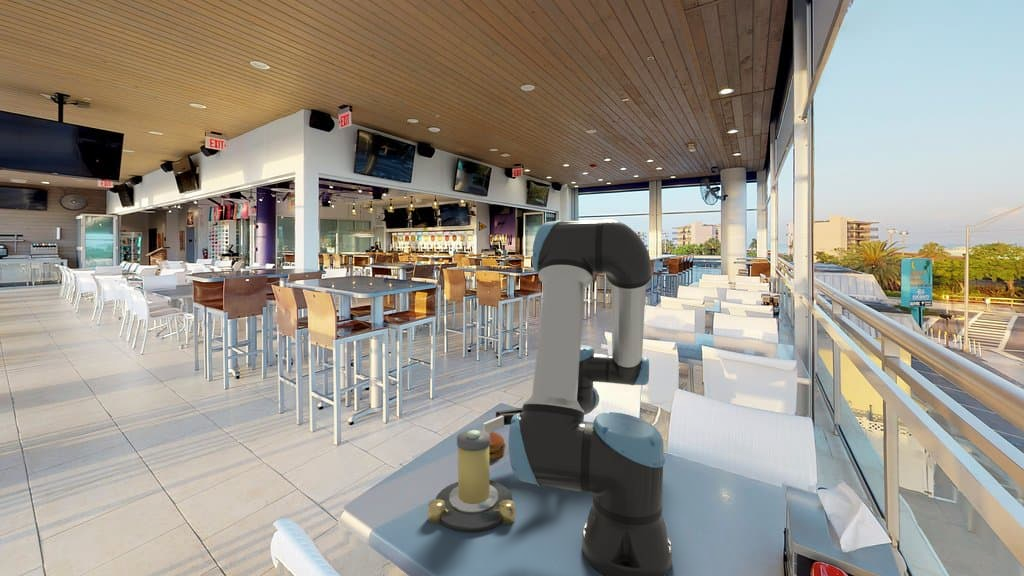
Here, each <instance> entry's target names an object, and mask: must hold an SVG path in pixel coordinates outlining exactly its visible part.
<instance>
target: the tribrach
mask: <svg viewBox="0 0 1024 576" xmlns="http://www.w3.org/2000/svg"><path fill="white" fill-rule="evenodd" d="M489 491H490V495H489V497H488V499H487V500H485V501H484V502H481V503H477V504H468V503H464V502H462V501H461V500H460V499H459V496H458V481H456V482H454V483H451V484H450V485H447V486H446V487H444V488H442V489H441V490H440V492H438V494H437V495H436V497H435V499H433V500H430V501H429V502H428V507H427V509H428V521H429V523H431V524H442V526H444V527H446V528H448V529H450V528H451V529H450V530H453V529H454V530H453V531H456V530H457V532H461V531H464V532H463V533H478V532H484V531H488V530H491V529H494V528H495V527H499V526H500V525H501V524H502V525H511V524H513V523H514V522H515V521H516V503H515V501H513V495H512V493H511V492H510V490H509V489H508V488H507V487H506V486H504V485H503V484H501V483H500V482H497V481H495V480H490V479H489Z"/></svg>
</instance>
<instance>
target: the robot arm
mask: <svg viewBox="0 0 1024 576" xmlns="http://www.w3.org/2000/svg"><path fill="white" fill-rule="evenodd" d="M531 258H532V260H531V262H532V268H533V270H534V272H535V273H538V275H537V276H538V279H539V281H540V282H541V283H542V284H543V293H542V303H541V309H540V310H541V311H540V312H541V313H540V321H539V328H538V338H537V346H536V347H537V348H536V356H535V357H536V358H535V365H534V366H535V367H534V373H533V375H534V376H533V381H532V383H533V385H532V393H531V396H530V397H529V398H528V399H527V400H526V401H524V402H523V403H522V407H518V408H517V407H516V408H512V409H505V410H498V411H495V418H492V419H490V420H488V421H486V422H482V431H486V432H488V433H489V434H490V433H492V432H494V433H495V432H496V431H498V430H500V429H502V428H504V427H505V426H508V425H509V431H508V453H509V454H508V457H509V462H510V467H511V470H512V473H513V475H514V476H515V477H516V479H517V480H518V481H520V482H523V483H529V484H532V485H536V486H537V487H543V486H544V487H549V488H557V489H562V490H570V491H576V492H581V493H588V494H592V506H591V508H590V511H589V513H588V517H587V520H586V523H584V527H583V530H582V534H581V535H582V538H581V539H582V540H581V542H582V543H581V544H582V545H581V547H582V548H581V549H582V552H583V555H584V557H585V558H586V560H587V561H588V563H589V564H590V565H591V566H592V567H593V568H594V569H595V570H597V571H598V572H599V573H601V574H602V575H605V576H664V575H665V574H666V573H667V572H668V571H669V572H670V570H671V568H672V562H673V549H672V543H671V540H670V538H669V536H668V532H667V527H666V524H665V520H664V517H663V499H664V498H663V494H664V493H663V492H664V491H663V489H664V488H663V486H664V485H663V484H664V466H665V464H666V458H665V451H664V438H663V436H662V434H661V432H660V431H659V429H657V428H656V427H655V426H654V425H652V424H651V423H649V422H648V421H646V420H643V419H642V418H640V417H637V416H634V415H630V414H626V413H622V412H615V411H612V412H611V411H610V412H602V413H599V414H597V415H596V416H595V418H594V420H593V421H585V419H584V418H585V416H586V415H588V414H589V413H591V412H592V411H593V410H595V409H596V408H597V407H598V406H599V404H600V403H599V402H600V396H599V393H598V390H597V389H596V388H595V387H594V382H596V383H604V384H605V383H606V384H607V383H609V384H618V385H626V386H627V385H629V386H646V385H648V384H649V381H650V359H649V358H648V357H646V356H643V351H644V350H643V347H644V346H643V345H644V332H645V331H644V327H645V326H644V325H645V312H646V311H645V310H646V309H645V308H646V291H647V285H648V284H649V283H650V282H651V280H652V260H651V257H650V253H649V251H648V249H647V246H646V244H645V243H644V241H643V240H642V239H641V237H640V236H639V235H638V234H637V233H636V232H635V231H634V230H633V229H632V228H631V227H630V226H628V225H627V224H625V223H623V222H620V221H617V220H615V219H603V220H602V219H600V220H598V219H596V220H593V219H592V220H568V221H567V220H564V219H563V220H562V219H559V220H556V221H546V222H544V223H543V224H541V225H540V226H539V227H538V229H537V231H536V233H535V236H534V241H533V245H532V256H531ZM595 274H596V275H598V274H599V275H603V274H606V280H607V282H608V284H610V285H611V348H612V349H611V350H612V351H611V352H612V353H611V354H603V353H602V354H599V353H595V350H594V347H592V346H590V345H585V344H581V342H582V330H583V316H584V304H585V303H584V302H585V301H584V300H585V288H587V287H588V286H589V285H591V284H592V282H593V276H594V275H595ZM669 572H668V573H669ZM668 573H667V574H668ZM665 576H666V575H665Z"/></svg>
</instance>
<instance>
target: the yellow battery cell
mask: <svg viewBox="0 0 1024 576" xmlns="http://www.w3.org/2000/svg"><path fill="white" fill-rule="evenodd" d="M489 445H490V434H489V433H488V432H486V431H483V429H482V430H481V429H469V430H464V431H462V432H460V433H458V434H457V436H456V446H457V461H458V462H457V471H458V472H457V473H458V474H457V477H458V478H457V480H458V481H457V482H458V496H459V499H460V500H461V501H462V502H464V503H468V504H477V503H481V502H484V501H485V500H487V499H488V497H489V495H490V491H489V480H490V460H489Z"/></svg>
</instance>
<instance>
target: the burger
mask: <svg viewBox="0 0 1024 576" xmlns="http://www.w3.org/2000/svg"><path fill="white" fill-rule="evenodd" d="M505 449H506V444H505V439H504V437H503V436H502V435H501V434H499V433H496V432H495V431H494V432H492V433H490V445H489V461H494V460H497V459H499V458H501V457H502V456H503V454H504V453H505Z"/></svg>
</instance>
